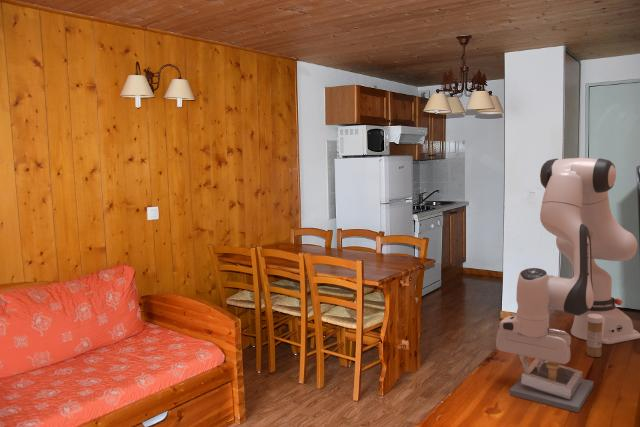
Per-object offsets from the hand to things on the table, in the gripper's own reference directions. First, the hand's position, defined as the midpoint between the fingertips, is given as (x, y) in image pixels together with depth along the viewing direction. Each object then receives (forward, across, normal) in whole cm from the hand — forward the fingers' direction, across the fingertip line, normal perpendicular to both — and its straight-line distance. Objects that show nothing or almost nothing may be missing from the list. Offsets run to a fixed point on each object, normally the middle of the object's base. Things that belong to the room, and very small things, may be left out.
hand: (531, 370), depth 156 cm
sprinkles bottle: (+5, -10, -32) cm, 34 cm away
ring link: (+2, -6, 0) cm, 6 cm away
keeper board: (+5, -6, 0) cm, 7 cm away
